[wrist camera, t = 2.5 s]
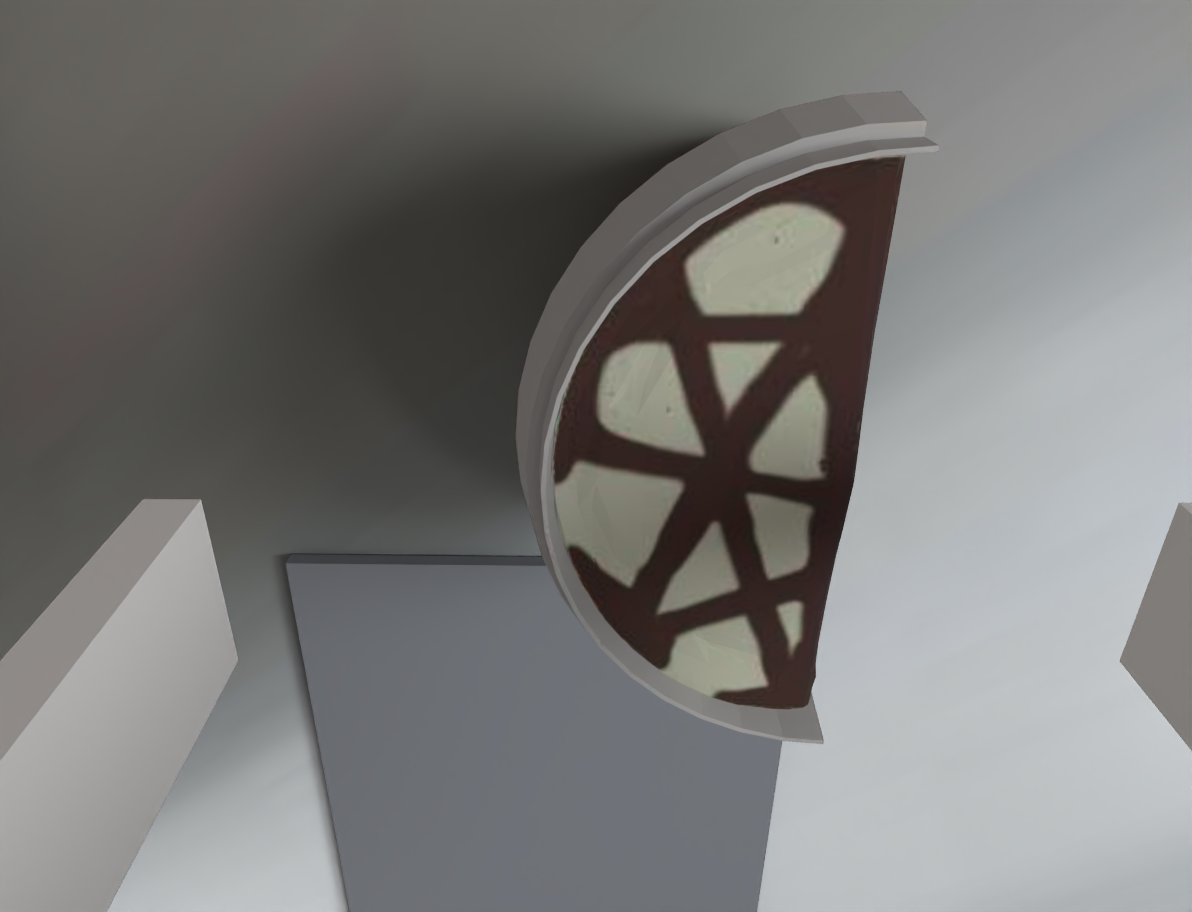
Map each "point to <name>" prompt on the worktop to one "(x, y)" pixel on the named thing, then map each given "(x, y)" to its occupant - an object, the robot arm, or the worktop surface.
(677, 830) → the mat
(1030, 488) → the worktop surface
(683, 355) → the food container
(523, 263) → the worktop surface
